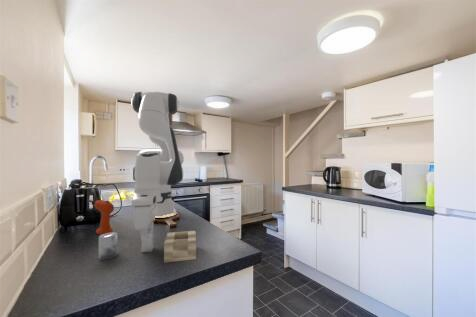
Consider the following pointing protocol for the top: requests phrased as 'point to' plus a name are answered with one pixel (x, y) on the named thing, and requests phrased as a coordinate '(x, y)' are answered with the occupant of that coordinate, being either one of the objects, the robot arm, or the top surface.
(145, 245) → the square bit
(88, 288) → the top surface
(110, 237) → the round bit
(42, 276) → the top surface
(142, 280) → the top surface
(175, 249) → the socket block
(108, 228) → the toy drill
